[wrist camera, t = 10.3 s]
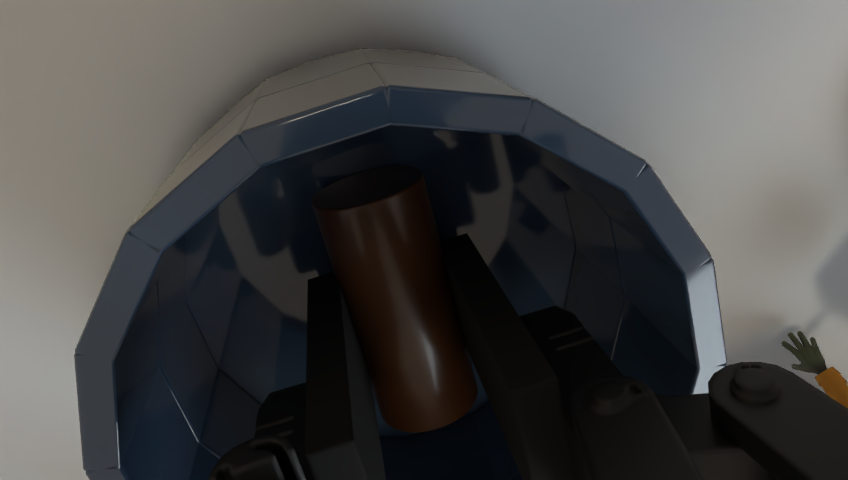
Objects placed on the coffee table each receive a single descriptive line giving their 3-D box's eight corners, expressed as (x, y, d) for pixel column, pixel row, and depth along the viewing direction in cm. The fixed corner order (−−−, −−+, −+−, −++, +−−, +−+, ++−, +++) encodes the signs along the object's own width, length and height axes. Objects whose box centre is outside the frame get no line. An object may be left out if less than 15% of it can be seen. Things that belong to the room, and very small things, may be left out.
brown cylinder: (293, 198, 16) (343, 217, 14) (385, 160, 17) (445, 171, 15) (362, 405, 18) (415, 449, 16) (440, 358, 19) (498, 393, 17)
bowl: (278, -43, 15) (250, -62, 9) (658, 171, 18) (843, 271, 12) (102, 356, 18) (-18, 565, 11) (460, 480, 21) (523, 698, 15)
